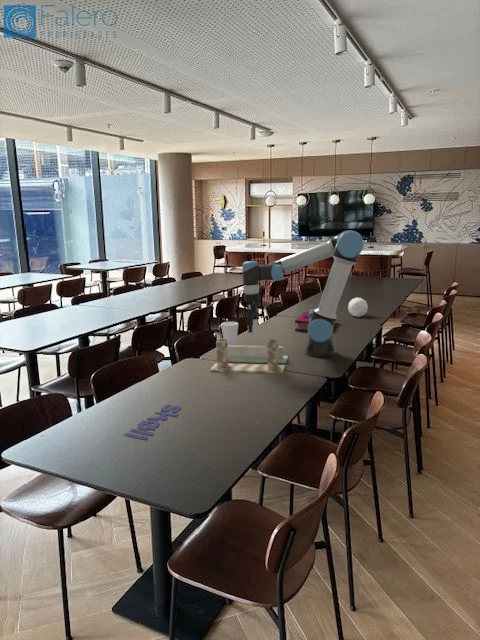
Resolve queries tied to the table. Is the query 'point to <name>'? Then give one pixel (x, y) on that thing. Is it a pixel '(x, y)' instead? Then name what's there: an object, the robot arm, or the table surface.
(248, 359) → the green board
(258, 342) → the table surface
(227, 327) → the foam cup
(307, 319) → the book
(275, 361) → the rail stand
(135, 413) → the table surface
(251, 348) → the rail bar
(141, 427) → the signage
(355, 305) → the geodesic sphere
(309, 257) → the robot arm
